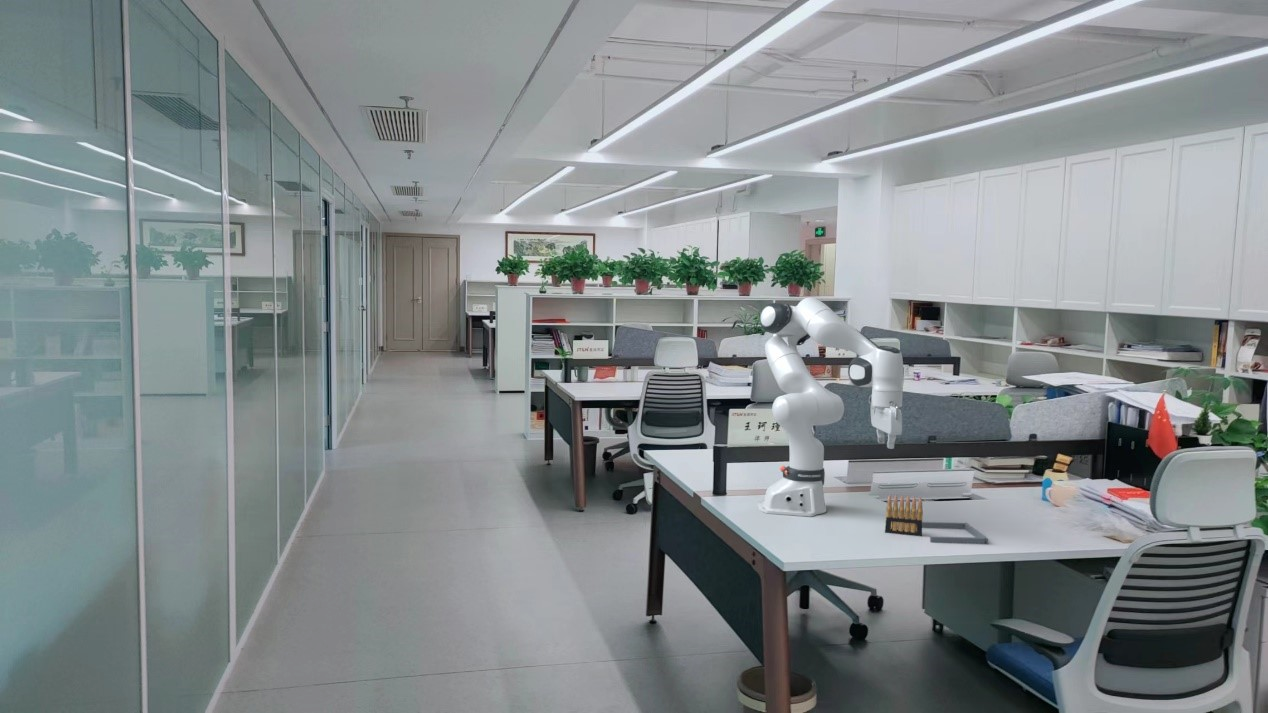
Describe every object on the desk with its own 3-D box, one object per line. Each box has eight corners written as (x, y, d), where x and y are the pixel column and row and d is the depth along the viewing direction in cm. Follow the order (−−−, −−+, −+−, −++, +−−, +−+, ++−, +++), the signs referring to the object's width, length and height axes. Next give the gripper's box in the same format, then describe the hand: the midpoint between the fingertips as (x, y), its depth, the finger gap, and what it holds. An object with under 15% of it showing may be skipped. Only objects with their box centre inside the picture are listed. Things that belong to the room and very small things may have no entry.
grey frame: (930, 543, 251) (931, 537, 251) (913, 527, 268) (913, 521, 268) (987, 544, 250) (988, 538, 250) (966, 528, 267) (966, 522, 267)
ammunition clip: (921, 535, 259) (923, 496, 258) (922, 537, 257) (924, 497, 256) (884, 532, 262) (886, 493, 261) (884, 533, 260) (886, 494, 259)
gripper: (908, 404, 249) (907, 451, 250) (887, 396, 269) (886, 440, 270) (886, 403, 249) (885, 451, 250) (867, 396, 269) (866, 440, 270)
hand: (885, 445), depth 260 cm, fingers open, 8 cm apart
